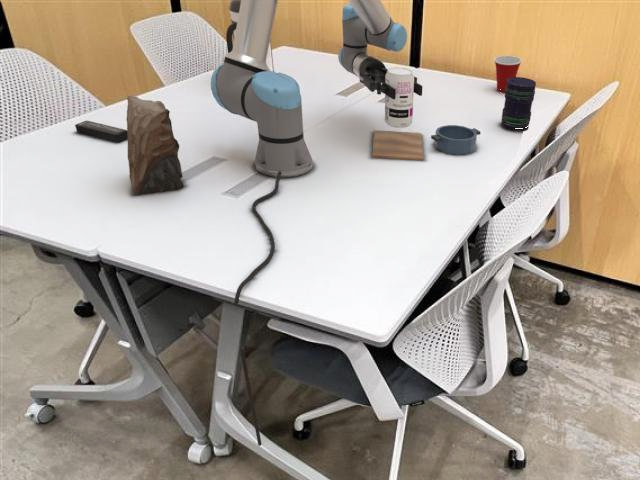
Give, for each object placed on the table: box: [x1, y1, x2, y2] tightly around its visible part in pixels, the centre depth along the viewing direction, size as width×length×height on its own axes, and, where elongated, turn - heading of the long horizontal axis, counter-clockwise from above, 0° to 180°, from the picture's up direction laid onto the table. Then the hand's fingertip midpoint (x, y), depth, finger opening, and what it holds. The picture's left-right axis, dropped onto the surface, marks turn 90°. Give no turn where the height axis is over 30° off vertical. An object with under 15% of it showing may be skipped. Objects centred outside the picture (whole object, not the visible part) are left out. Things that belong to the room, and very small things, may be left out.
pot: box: [430, 124, 482, 156], centre depth 182 cm, size 13×17×4 cm
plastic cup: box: [493, 55, 523, 94], centre depth 228 cm, size 11×11×12 cm
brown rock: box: [125, 95, 185, 196], centre depth 141 cm, size 13×13×20 cm
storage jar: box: [500, 76, 537, 133], centre depth 197 cm, size 10×10×15 cm
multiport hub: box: [74, 120, 128, 144], centre depth 166 cm, size 4×14×2 cm, turn 71°
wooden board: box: [371, 129, 424, 161], centre depth 179 cm, size 20×15×1 cm
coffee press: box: [225, 0, 275, 72], centre depth 203 cm, size 17×16×30 cm
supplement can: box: [384, 66, 415, 129], centre depth 170 cm, size 8×8×15 cm
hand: (407, 92), depth 166 cm, fingers closed on supplement can, 8 cm apart
